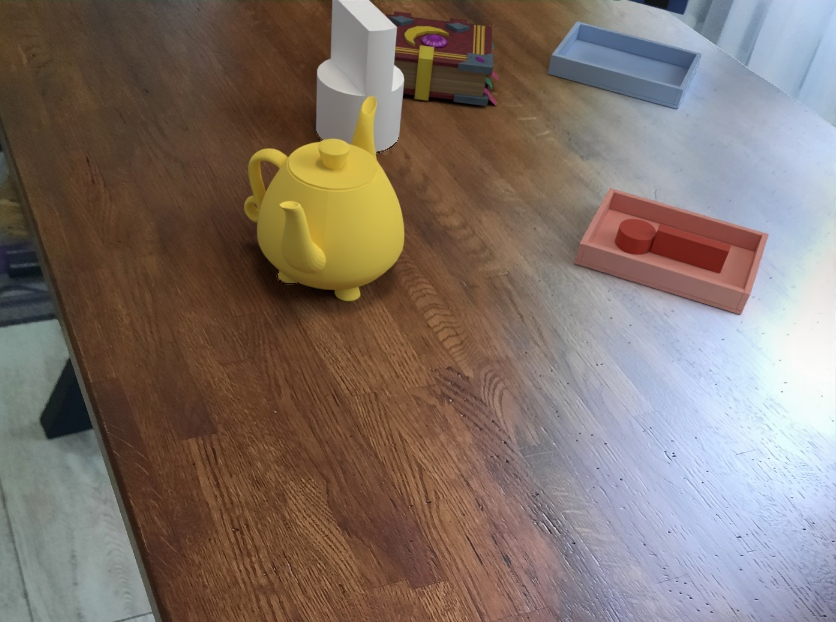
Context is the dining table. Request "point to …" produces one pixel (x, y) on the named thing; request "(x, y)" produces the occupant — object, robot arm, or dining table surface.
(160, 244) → the dining table surface
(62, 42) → the dining table surface
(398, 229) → the teapot
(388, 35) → the base with upright slab
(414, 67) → the decorative book
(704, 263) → the red spoon
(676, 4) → the blue spoon
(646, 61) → the blue tray
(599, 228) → the pink tray
